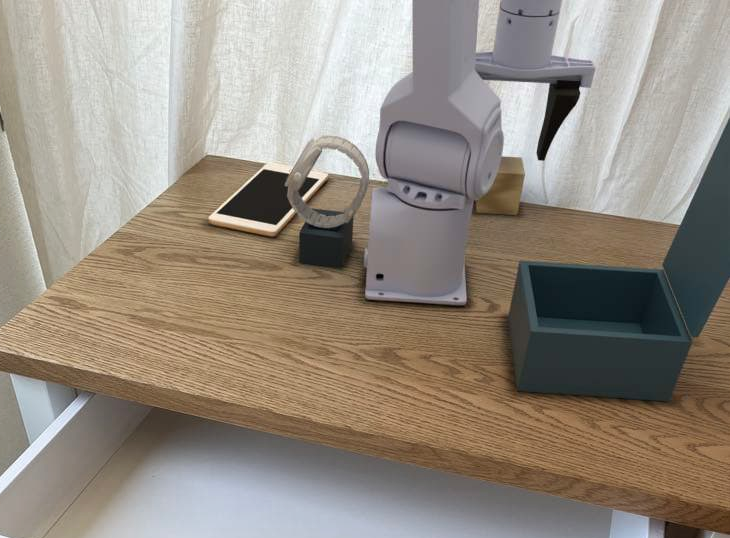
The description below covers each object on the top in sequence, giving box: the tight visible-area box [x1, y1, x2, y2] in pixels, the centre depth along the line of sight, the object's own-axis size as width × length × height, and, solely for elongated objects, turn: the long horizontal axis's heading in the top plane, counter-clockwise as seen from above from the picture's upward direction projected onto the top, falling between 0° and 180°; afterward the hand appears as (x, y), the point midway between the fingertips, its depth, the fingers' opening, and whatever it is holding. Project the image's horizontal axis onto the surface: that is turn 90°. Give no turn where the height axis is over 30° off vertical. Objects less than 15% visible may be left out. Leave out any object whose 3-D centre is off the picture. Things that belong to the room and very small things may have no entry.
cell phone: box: [207, 162, 329, 237], centre depth 92 cm, size 8×16×1 cm, turn 159°
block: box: [474, 155, 526, 216], centre depth 91 cm, size 4×4×4 cm
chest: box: [507, 260, 693, 402], centre depth 70 cm, size 12×11×6 cm
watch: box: [285, 135, 371, 269], centre depth 80 cm, size 6×8×11 cm
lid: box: [661, 116, 730, 339], centre depth 63 cm, size 13×11×1 cm
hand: (504, 155), depth 89 cm, fingers open, 7 cm apart
